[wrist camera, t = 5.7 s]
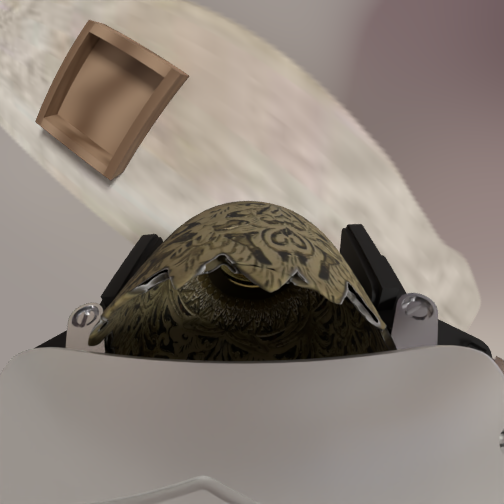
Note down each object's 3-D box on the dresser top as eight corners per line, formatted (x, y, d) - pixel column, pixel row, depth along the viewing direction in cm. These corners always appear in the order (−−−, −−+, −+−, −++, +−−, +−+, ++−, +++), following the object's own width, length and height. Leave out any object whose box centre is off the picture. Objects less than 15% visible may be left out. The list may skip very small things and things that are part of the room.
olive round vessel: (194, 133, 10) (71, 221, 3) (363, 194, 11) (464, 336, 4) (160, 279, 14) (102, 419, 7) (295, 317, 15) (306, 461, 8)
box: (189, 76, 22) (180, 74, 19) (123, 171, 27) (110, 180, 24) (104, 24, 18) (88, 19, 16) (51, 117, 23) (35, 121, 21)
